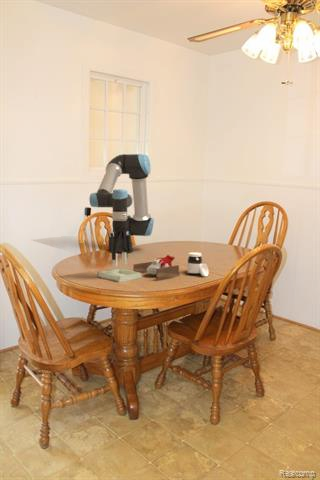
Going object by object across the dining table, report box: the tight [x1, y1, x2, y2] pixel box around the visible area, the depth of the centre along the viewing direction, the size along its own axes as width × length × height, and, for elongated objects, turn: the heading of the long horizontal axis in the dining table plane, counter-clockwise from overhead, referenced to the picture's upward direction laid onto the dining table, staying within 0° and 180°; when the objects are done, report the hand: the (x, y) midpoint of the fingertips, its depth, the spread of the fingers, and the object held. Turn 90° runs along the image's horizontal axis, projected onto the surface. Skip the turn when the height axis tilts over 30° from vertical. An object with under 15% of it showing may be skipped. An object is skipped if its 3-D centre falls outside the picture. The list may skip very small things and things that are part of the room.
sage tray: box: [97, 268, 143, 283], centre depth 213 cm, size 17×15×3 cm
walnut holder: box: [132, 261, 181, 282], centre depth 218 cm, size 18×17×6 cm
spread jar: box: [187, 252, 209, 278], centre depth 222 cm, size 12×11×12 cm
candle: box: [146, 254, 175, 276], centre depth 218 cm, size 9×11×15 cm
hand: (119, 265), depth 213 cm, fingers open, 5 cm apart
